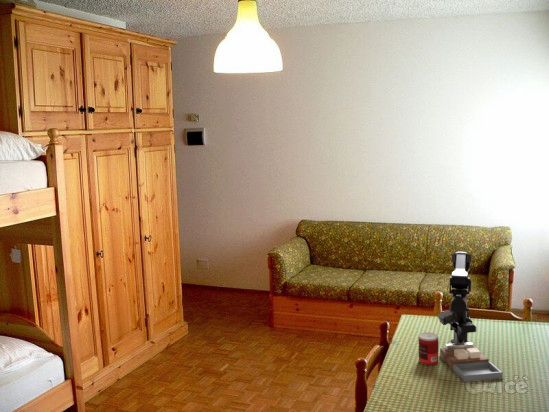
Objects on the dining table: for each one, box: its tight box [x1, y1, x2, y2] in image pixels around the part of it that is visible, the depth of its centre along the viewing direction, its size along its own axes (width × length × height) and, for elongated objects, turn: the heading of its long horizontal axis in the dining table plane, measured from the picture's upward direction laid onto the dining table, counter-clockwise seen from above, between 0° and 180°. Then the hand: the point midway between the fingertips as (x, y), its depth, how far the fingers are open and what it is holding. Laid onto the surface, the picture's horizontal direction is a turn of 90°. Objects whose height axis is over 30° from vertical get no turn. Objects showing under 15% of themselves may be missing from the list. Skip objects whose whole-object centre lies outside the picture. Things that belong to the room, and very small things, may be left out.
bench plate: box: [439, 345, 490, 370], centre depth 234 cm, size 14×14×4 cm
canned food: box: [418, 331, 439, 366], centre depth 235 cm, size 8×8×11 cm
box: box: [452, 361, 504, 383], centre depth 223 cm, size 10×15×2 cm, turn 96°
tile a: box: [454, 349, 468, 360], centre depth 231 cm, size 4×4×2 cm
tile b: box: [466, 347, 481, 358], centre depth 231 cm, size 4×4×2 cm
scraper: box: [444, 331, 474, 351], centre depth 238 cm, size 2×11×7 cm, turn 96°
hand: (459, 341), depth 238 cm, fingers closed on scraper, 2 cm apart
